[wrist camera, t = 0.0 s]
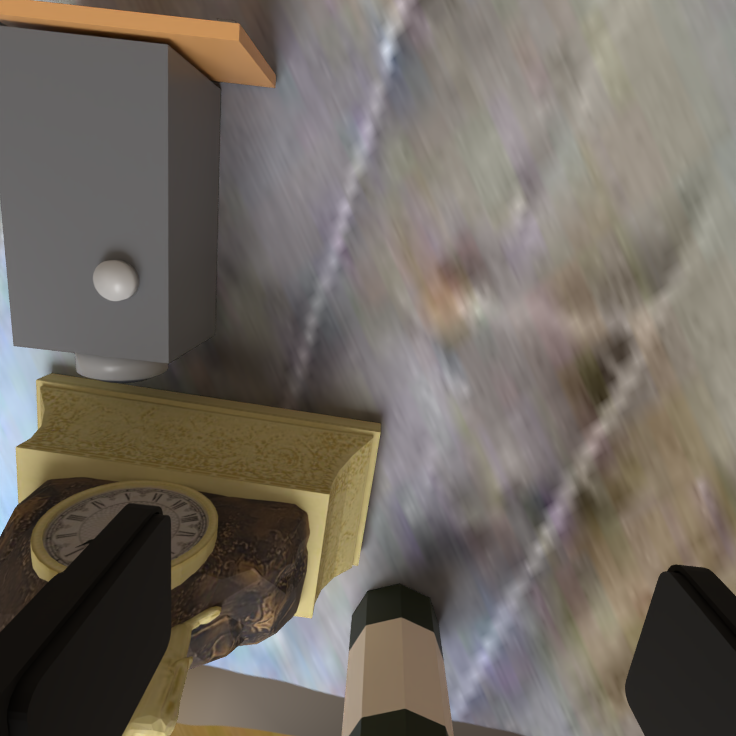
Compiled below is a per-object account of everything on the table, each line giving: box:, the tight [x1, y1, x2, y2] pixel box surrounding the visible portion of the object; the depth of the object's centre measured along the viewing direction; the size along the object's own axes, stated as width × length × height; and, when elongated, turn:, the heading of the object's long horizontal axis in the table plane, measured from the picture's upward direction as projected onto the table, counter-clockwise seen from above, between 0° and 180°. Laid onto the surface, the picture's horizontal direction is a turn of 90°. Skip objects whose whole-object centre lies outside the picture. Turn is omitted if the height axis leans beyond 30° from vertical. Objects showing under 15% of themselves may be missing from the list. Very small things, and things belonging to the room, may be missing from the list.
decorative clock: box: [0, 373, 381, 736], centre depth 29 cm, size 28×13×30 cm, turn 81°
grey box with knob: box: [0, 26, 221, 383], centre depth 33 cm, size 20×10×10 cm, turn 174°
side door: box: [0, 0, 276, 88], centre depth 30 cm, size 2×14×9 cm, turn 83°
